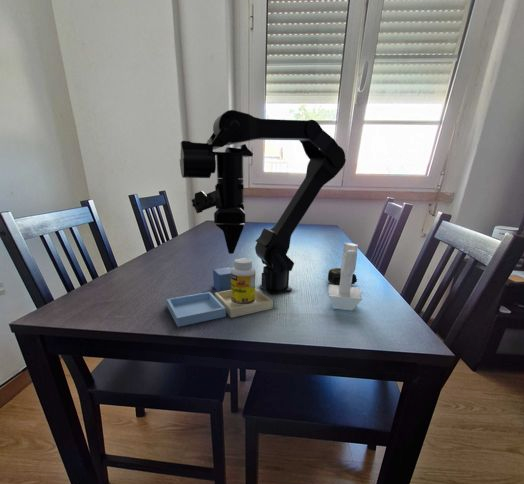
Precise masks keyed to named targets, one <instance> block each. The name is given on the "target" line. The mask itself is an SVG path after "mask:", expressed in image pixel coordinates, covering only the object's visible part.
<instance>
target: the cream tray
mask: <svg viewBox="0 0 524 484" xmlns="http://www.w3.org/2000/svg"><path fill="white" fill-rule="evenodd" d="M214 297H215V298H216V299H217V300H218V301H219V302H220V303H221V304H222V305H223V306H224V307H225V308H226V315H228V316H229V317H230V318H231V319H232V318H237V317H241V316H246V315H249V314H254V313H258V312H263V311H267V310H272V309H273V305H274V304H273V300H272V299H271V298H270V297H269V296H267V295H266V294H265V293H262V291H260V290H258V289H257V288H256V287H255V301H254V303H253V304H249V305H244V306H238V305H235V304H233V303H232V301H231V290H227V291H221V292H218V291H216V292H214Z"/></svg>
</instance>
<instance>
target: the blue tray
mask: <svg viewBox="0 0 524 484" xmlns="http://www.w3.org/2000/svg"><path fill="white" fill-rule="evenodd" d="M166 306H167V309H168V311H169V313H170V315H171V316H172V319H173V320H174V322H175V324H176V326H177V328H179V327H185V326H188V325H194V324H199V323H202V322H206V321H207V322H208V321H212V320H216V319H221V318H225V317H227V313H226V308H225V307H224V306H223V305H222V304H221V303H220V302H219V301H218V300H217V299H216V298H215V294H213V293H212V292H211V291H206V292H201V293H195V294H188V295H183V296H176V297H171V298H166Z"/></svg>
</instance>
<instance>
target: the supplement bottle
mask: <svg viewBox="0 0 524 484" xmlns="http://www.w3.org/2000/svg"><path fill="white" fill-rule="evenodd" d="M231 268H232V269H231V301H232V303H233V304H235V305H238V306H244V305H249V304H253V303H254V301H255V288H256V269H255V268H254V267H253V260H252V259H250V258H246V257H239V258H236V259H234V261H233V267H231Z"/></svg>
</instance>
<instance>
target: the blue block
mask: <svg viewBox="0 0 524 484" xmlns="http://www.w3.org/2000/svg"><path fill="white" fill-rule="evenodd" d="M232 268H233V267H230V266H229V267H221V268H213V269H212V278H213V280H212V281H213V288H214V289H215V290H216V292H221V291H227V290H231V269H232Z"/></svg>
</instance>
